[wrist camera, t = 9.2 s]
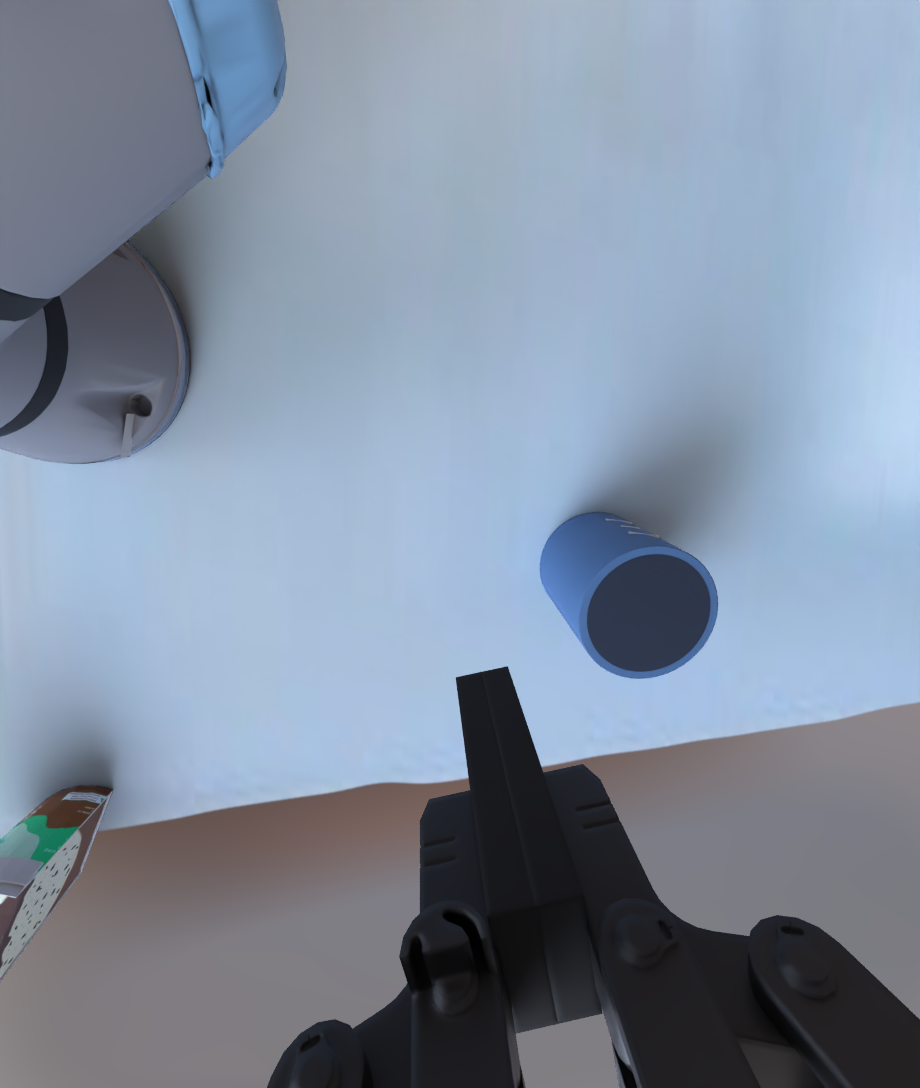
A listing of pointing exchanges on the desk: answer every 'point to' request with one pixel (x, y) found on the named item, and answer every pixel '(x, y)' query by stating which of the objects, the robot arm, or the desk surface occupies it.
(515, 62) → the desk surface
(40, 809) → the food container
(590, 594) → the measuring cup
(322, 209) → the desk surface
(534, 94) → the desk surface
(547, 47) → the desk surface
